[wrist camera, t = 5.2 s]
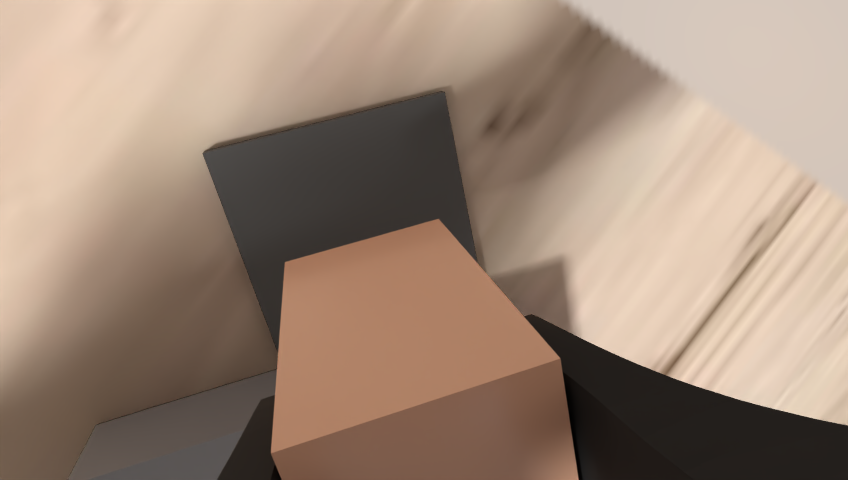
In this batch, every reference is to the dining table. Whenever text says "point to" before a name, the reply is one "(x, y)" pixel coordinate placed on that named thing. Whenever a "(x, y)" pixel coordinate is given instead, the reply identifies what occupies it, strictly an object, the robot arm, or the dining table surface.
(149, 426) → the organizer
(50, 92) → the dining table surface
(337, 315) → the terracotta block
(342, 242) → the coaster
